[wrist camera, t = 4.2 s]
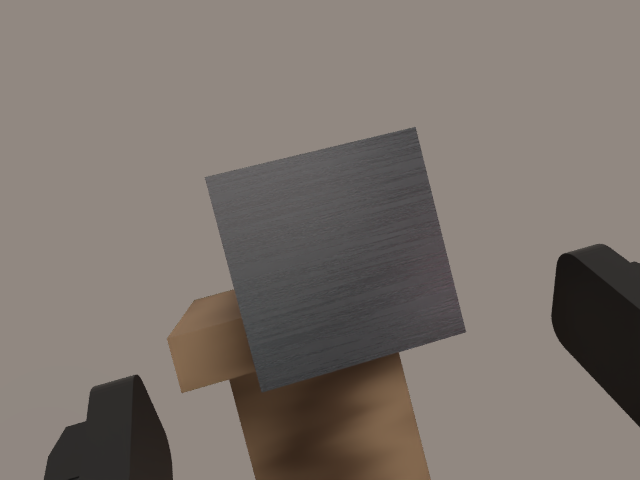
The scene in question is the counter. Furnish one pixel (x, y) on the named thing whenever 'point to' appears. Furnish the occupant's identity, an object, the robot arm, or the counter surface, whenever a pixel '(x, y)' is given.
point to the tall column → (303, 405)
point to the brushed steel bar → (335, 257)
